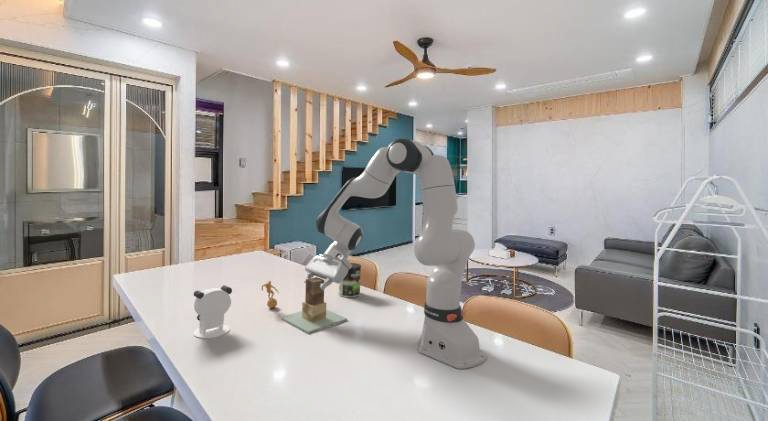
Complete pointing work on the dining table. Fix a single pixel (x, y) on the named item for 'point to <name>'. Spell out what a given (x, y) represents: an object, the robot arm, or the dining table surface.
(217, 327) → the panda figurine
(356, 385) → the dining table surface
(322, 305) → the base brick
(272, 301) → the figurine
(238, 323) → the dining table surface
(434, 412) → the dining table surface
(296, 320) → the plate
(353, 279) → the coffee can
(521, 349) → the dining table surface
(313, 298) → the walnut brick
